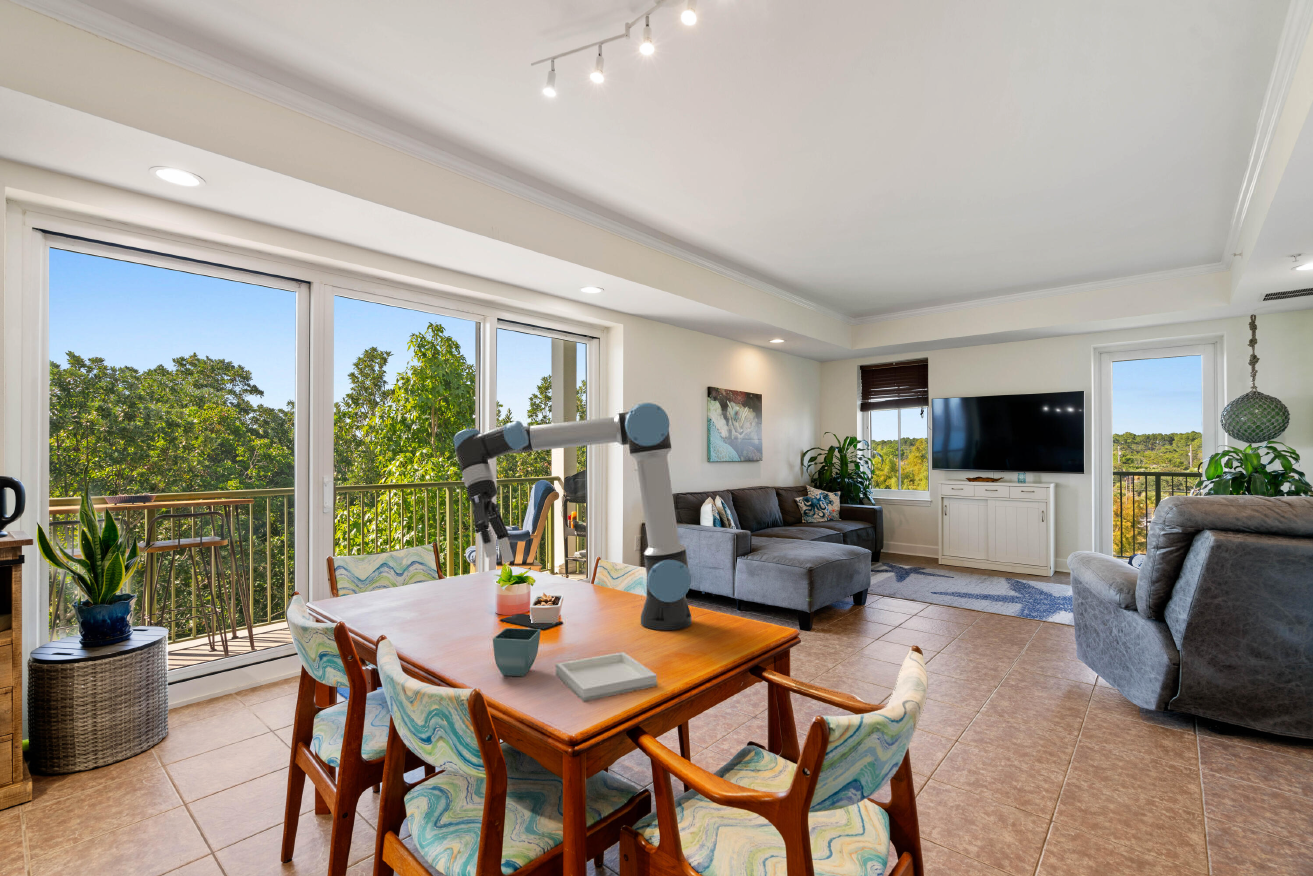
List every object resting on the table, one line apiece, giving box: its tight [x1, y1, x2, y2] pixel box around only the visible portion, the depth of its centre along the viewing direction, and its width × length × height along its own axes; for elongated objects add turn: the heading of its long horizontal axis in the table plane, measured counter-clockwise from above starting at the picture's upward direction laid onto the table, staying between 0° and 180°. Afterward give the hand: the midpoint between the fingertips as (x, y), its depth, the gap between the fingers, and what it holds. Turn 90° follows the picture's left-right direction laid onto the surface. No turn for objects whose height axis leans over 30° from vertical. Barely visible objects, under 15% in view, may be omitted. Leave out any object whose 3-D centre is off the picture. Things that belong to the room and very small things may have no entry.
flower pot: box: [492, 627, 541, 677], centre depth 141 cm, size 9×9×9 cm
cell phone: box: [499, 613, 564, 632], centre depth 182 cm, size 9×18×1 cm, turn 57°
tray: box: [555, 651, 658, 702], centre depth 136 cm, size 17×17×2 cm
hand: (500, 559), depth 158 cm, fingers open, 13 cm apart
